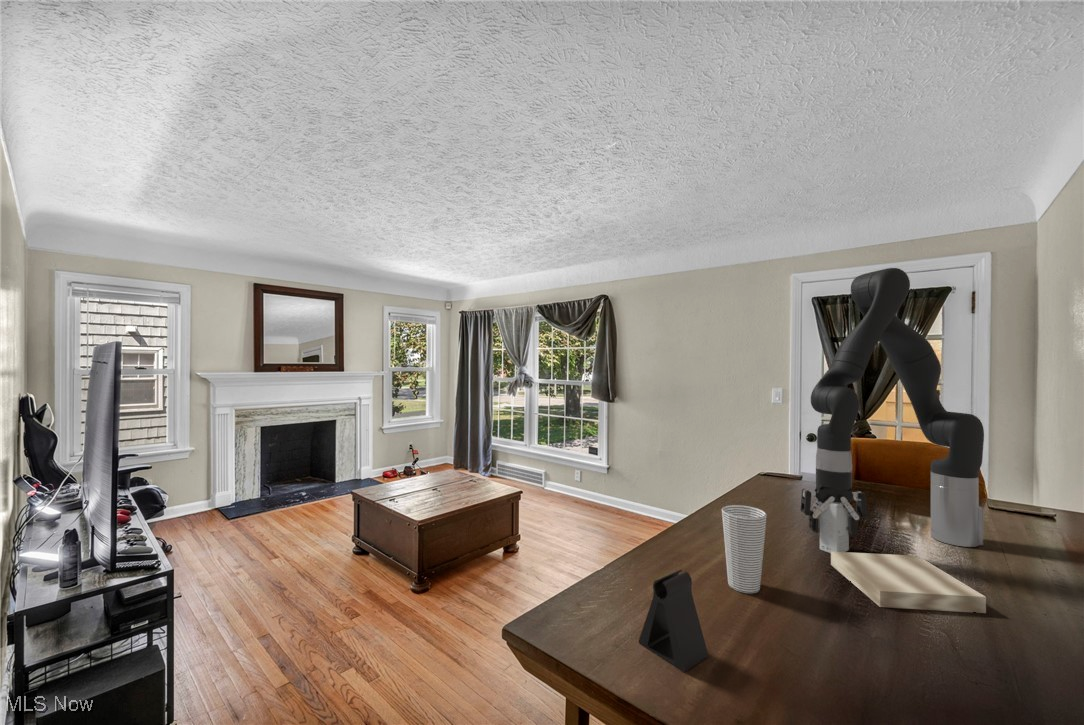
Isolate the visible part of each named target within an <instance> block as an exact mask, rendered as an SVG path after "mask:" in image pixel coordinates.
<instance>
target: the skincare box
mask: <svg viewBox="0 0 1084 725" xmlns="http://www.w3.org/2000/svg"><path fill="white" fill-rule="evenodd" d="M821 504H822V503H821V502H820V501H819V506H820V505H821ZM848 517H849V515H848V512H847V511H846V508H843V503H841V502H832V503H828V507H827V508H826V510H825V511H824V512H821V514H820V515H819V516H818V519H819V530H818V533H819V550H821V551H823V552H826V553H829V554H831V552H848V551H850V550H849V549H850V545H849V544H850V542H849V541H850V536H849V535H850V533H849V531H848Z"/></svg>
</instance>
